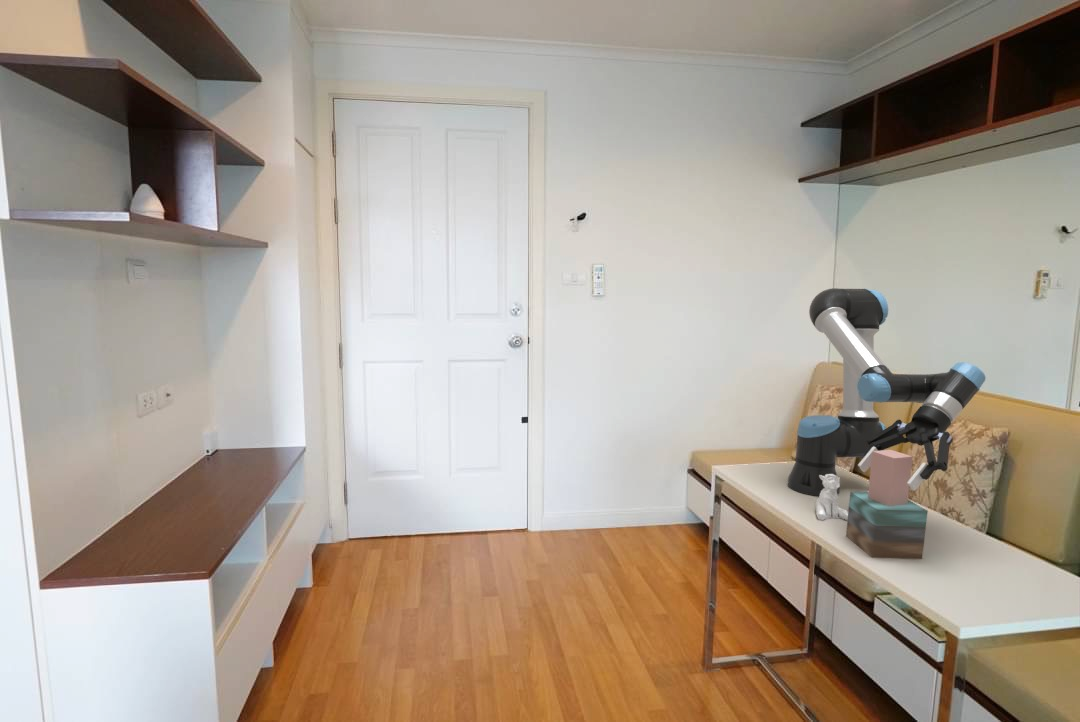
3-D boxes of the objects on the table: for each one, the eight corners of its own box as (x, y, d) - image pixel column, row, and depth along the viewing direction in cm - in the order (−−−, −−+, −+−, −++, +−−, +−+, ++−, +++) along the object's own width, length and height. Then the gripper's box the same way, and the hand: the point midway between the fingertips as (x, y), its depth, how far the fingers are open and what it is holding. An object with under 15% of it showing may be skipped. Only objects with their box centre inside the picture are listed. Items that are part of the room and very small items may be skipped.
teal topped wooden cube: (846, 535, 149) (850, 491, 148) (892, 537, 149) (896, 492, 148) (871, 557, 138) (877, 509, 136) (922, 558, 137) (927, 510, 136)
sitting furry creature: (818, 520, 159) (822, 479, 157) (803, 508, 168) (807, 469, 166) (852, 521, 159) (856, 479, 158) (836, 509, 168) (839, 470, 166)
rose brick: (867, 497, 144) (872, 451, 142) (885, 495, 146) (890, 449, 144) (889, 506, 138) (894, 458, 137) (907, 503, 140) (912, 456, 139)
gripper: (995, 436, 133) (941, 505, 130) (897, 413, 156) (850, 470, 153) (982, 415, 130) (927, 485, 128) (884, 394, 154) (836, 453, 151)
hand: (884, 477), depth 140 cm, fingers open, 13 cm apart
